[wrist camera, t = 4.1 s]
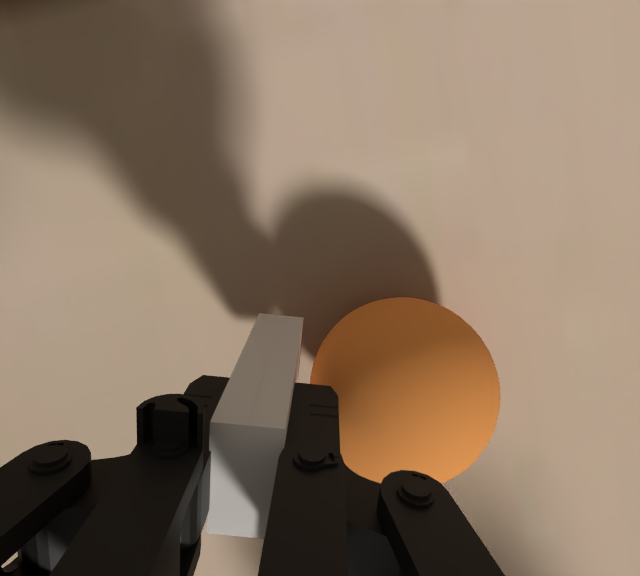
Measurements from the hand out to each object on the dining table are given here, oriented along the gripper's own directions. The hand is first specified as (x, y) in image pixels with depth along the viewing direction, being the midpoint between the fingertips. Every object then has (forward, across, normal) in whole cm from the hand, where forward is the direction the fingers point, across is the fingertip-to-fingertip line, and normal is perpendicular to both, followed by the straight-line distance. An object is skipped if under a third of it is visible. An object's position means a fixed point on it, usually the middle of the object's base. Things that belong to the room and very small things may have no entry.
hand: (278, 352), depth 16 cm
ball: (-1, -4, 0) cm, 4 cm away
